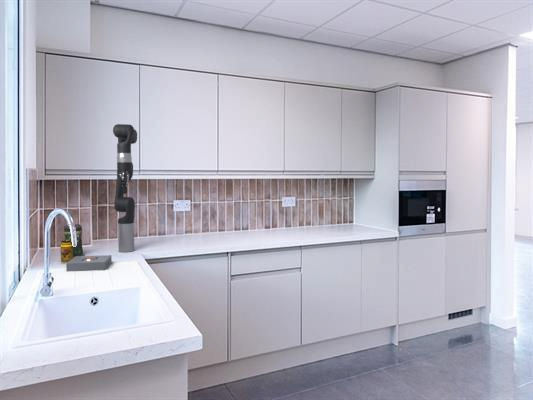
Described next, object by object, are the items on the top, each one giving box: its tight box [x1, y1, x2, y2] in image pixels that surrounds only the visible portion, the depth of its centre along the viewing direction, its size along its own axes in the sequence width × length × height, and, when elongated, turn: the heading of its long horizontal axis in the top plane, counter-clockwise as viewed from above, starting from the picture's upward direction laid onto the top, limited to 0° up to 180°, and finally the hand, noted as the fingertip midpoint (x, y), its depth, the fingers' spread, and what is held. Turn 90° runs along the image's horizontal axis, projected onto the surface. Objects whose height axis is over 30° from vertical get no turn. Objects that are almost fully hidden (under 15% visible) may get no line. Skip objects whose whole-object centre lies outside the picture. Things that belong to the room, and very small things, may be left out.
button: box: [83, 257, 96, 261], centre depth 205 cm, size 6×6×4 cm
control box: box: [65, 254, 112, 272], centre depth 205 cm, size 16×18×4 cm
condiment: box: [58, 239, 73, 264], centre depth 215 cm, size 7×8×12 cm
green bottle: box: [63, 223, 84, 258], centre depth 227 cm, size 10×8×19 cm
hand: (125, 193), depth 217 cm, fingers closed
